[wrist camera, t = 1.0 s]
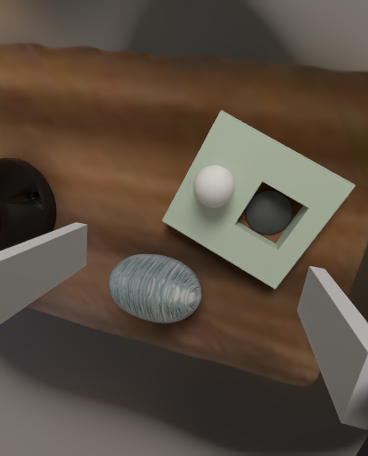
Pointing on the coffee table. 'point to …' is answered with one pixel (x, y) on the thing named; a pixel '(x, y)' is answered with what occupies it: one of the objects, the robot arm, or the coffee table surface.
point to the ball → (213, 186)
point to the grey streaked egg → (155, 288)
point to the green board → (257, 200)
